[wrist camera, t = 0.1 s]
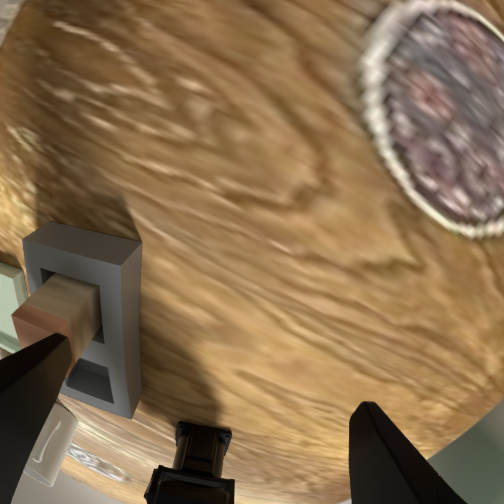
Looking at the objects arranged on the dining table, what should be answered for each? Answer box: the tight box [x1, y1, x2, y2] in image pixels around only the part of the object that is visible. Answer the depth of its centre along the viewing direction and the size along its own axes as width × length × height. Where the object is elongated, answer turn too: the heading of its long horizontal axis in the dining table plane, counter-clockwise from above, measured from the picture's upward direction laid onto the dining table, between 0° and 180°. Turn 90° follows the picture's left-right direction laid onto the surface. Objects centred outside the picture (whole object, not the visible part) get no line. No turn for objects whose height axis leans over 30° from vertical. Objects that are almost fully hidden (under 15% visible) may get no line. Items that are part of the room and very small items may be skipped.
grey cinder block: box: [22, 222, 142, 420], centre depth 24 cm, size 18×9×4 cm, turn 168°
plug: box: [11, 273, 102, 377], centre depth 19 cm, size 4×4×8 cm
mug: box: [23, 403, 78, 487], centre depth 28 cm, size 10×7×12 cm, turn 143°
